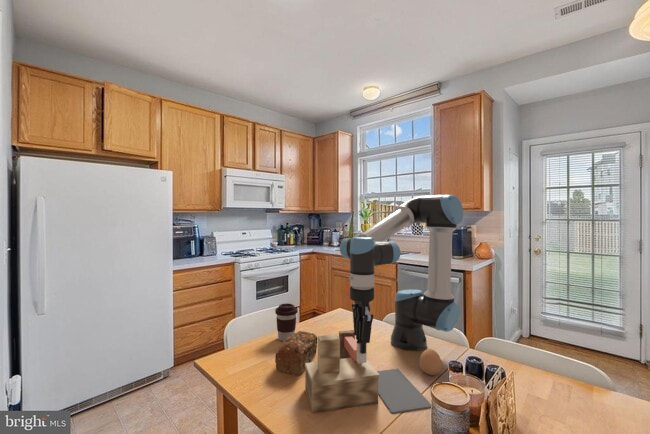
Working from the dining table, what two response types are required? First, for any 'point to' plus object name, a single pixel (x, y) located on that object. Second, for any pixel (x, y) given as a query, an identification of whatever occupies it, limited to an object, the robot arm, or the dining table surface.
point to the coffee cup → (286, 320)
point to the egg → (430, 362)
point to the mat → (399, 392)
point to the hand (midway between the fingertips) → (361, 361)
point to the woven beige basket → (341, 389)
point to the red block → (350, 346)
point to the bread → (296, 353)
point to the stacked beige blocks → (336, 365)
